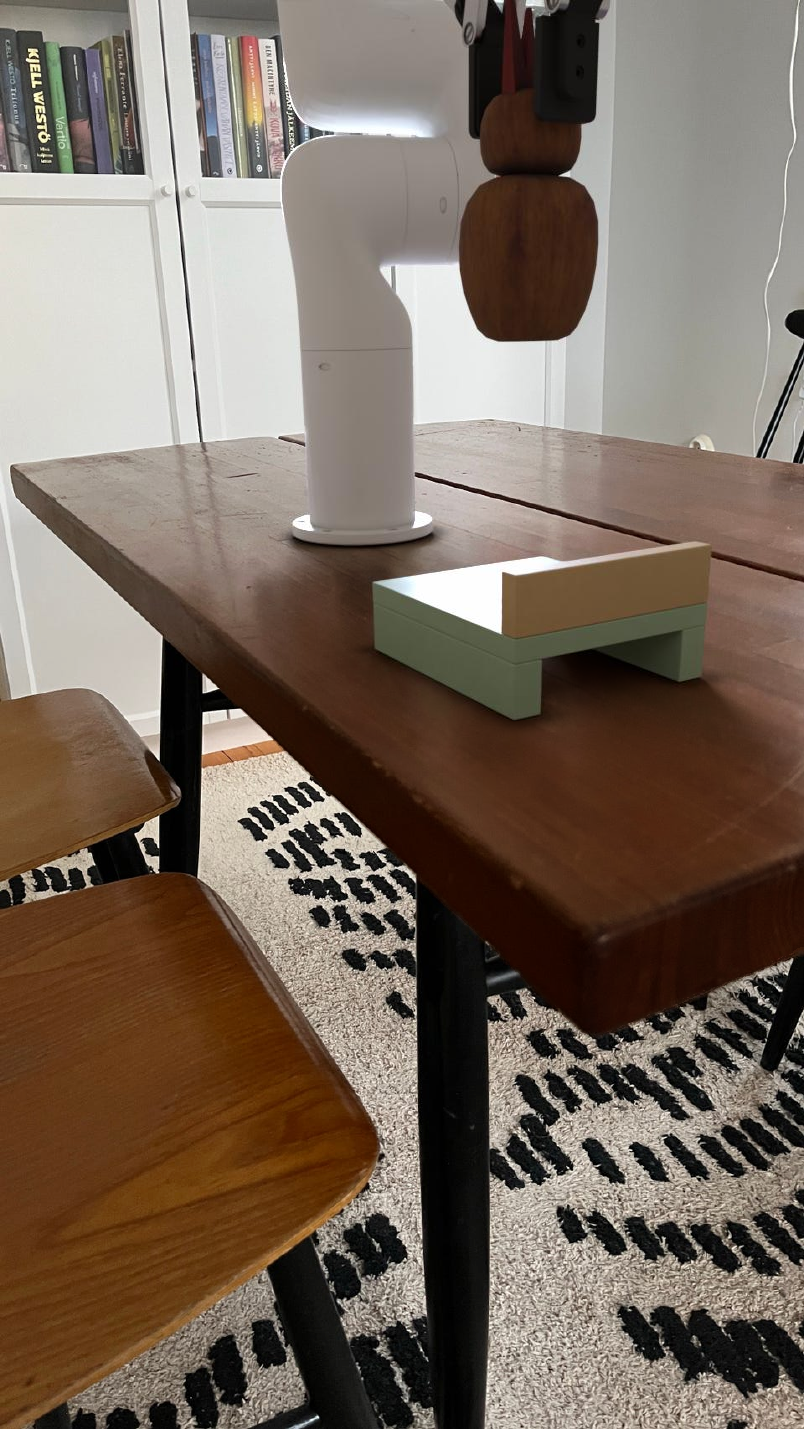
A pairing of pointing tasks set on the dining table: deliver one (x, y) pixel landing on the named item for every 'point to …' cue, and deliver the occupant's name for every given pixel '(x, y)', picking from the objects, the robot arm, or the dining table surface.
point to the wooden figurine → (527, 213)
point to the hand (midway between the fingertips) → (530, 126)
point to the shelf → (546, 619)
